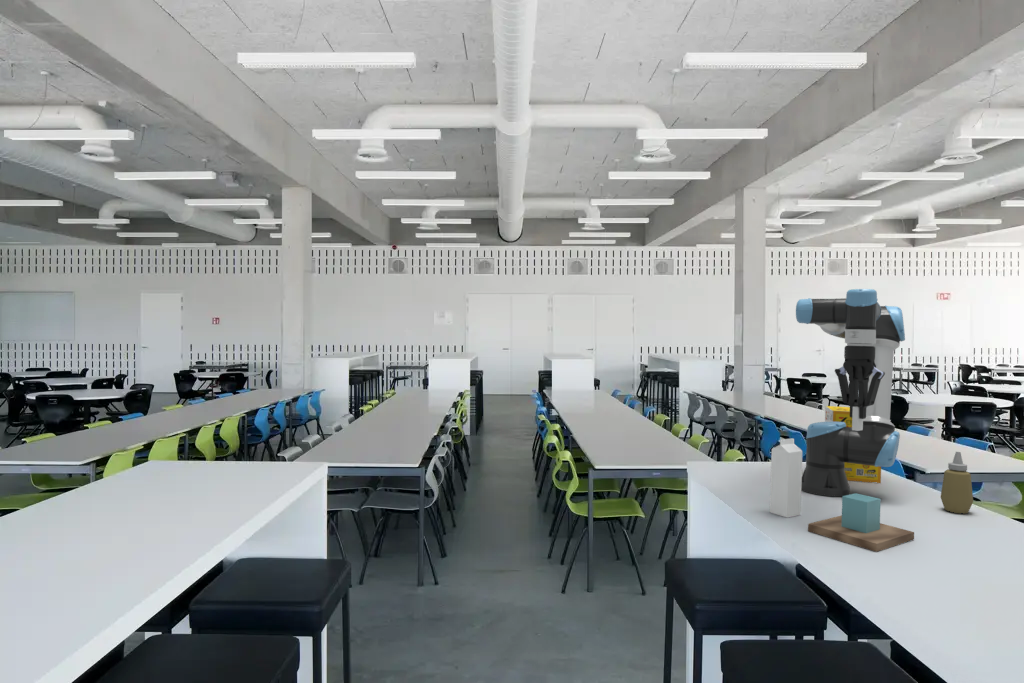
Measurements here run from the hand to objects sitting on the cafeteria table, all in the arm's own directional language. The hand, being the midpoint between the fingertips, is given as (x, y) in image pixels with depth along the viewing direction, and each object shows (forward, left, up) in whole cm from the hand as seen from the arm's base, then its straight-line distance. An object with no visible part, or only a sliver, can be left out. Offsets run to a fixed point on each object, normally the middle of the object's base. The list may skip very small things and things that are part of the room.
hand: (857, 430), depth 176 cm
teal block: (+6, -8, -24) cm, 26 cm away
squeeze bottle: (+8, +41, -27) cm, 50 cm away
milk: (-16, -8, -27) cm, 32 cm away
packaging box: (-34, +58, -27) cm, 72 cm away
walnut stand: (+6, -8, -26) cm, 28 cm away
